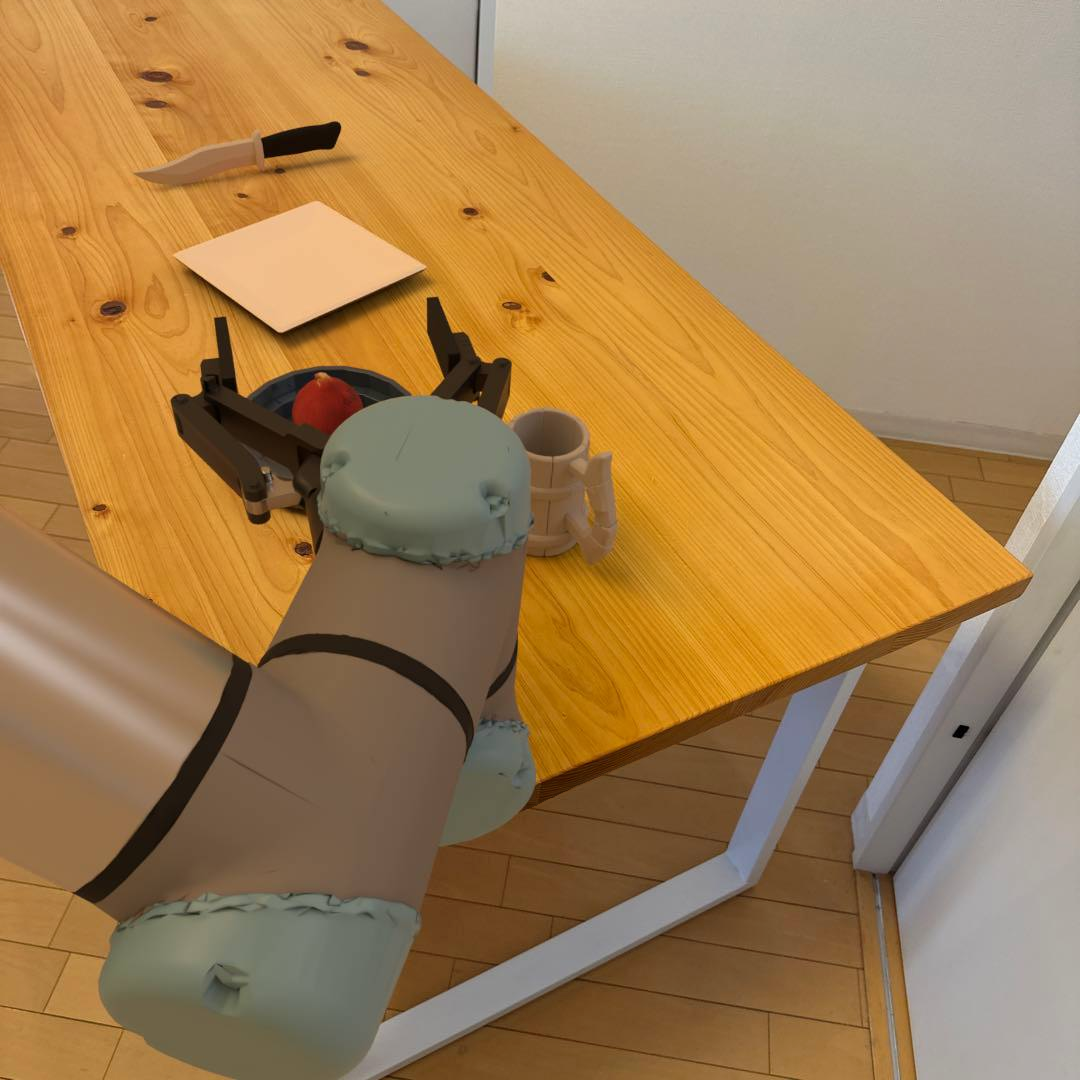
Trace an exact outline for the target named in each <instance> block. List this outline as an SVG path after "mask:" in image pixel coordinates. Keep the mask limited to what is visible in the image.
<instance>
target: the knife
mask: <svg viewBox="0 0 1080 1080" xmlns="http://www.w3.org/2000/svg"><path fill="white" fill-rule="evenodd" d="M341 132H342V124H341V123H340V122H339V121H337V120H334V121H330V122H326V123H322V124H314V125H306V126H300V127H295V128H291V129H286V130H283V131H278V132H276V133H273V134H270V135H266V136H263V137H261V131H260V129H259V128H258V129H254V130H253V131H252V133H251V136H250V137H248V138H243V139H237V140H236V139H235V140H232V141H225V142H221V143H215V144H210V145H209V144H208V145H205V146H201V147H198V148H196V149H194V150H192V151H189V152H188V153H186V154H184V155H182V156H180V157H178V158H176V159H172V160H171V161H168V162H164V163H161V164H158V165H155V166H151V167H147V168H144V169H141V170H137V171H134V172H132V174H133V175H135V176H136V177H138V178H140V179H142V180H144V181H147V182H149V183H153V184H158V185H166V186H182V185H183V186H184V185H189V184H193V183H196V182H199V181H201V180H204V179H206V178H209V177H211V176H214V175H217V174H221V173H224V172H227V171H231V170H236V169H241V168H247V167H251V166H257V168H258V169H259V170H260V171H262V172H264V171H266V168H265V159H272V158H278V157H286V156H293V155H300V154H304V153H308V152H314V151H331V150H334V148H335V147H336V145H337V142H338V139H339V137H340V134H341Z"/></svg>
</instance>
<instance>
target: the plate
mask: <svg viewBox="0 0 1080 1080" xmlns="http://www.w3.org/2000/svg"><path fill="white" fill-rule="evenodd" d="M172 256H173V258H174V259H176V260H177V261H178V262H179V263H181V264H182V265H183V266H185V267H186V268H187V269H189V270H190V271H192V272H193V273H194V274H196V275H197V276H198V277H200V278H202V279H203V280H204V281H205V282H207V283H208V284H210V285H211V286H212V287H214V288H215V289H217V290H218V291H219V292H221V293H222V294H223V295H225V296H226V297H228V298H229V299H230V300H232V301H233V302H235V303H236V304H237V305H239V307H242V308H243V309H245V311H247V312H249V313H250V314H251V315H253V316H254V317H255V318H257V319H258V320H260V321H261V323H264V324H265V325H266V326H268V328H269V327H270V328H271V329H272V330H273V331H275V332H276V333H277V334H279V335H284V334H286V333H289V332H292V331H294V330H296V329H298V328H300V327H302V326H304V325H307V324H309V323H311V322H314V321H317V320H318V319H320V318H322V317H325V316H327V315H329V314H331V313H333V312H336V311H338V310H341V309H342V308H345V307H347V306H350V305H351V304H354V303H356V302H358V301H360V300H363V299H366V298H367V297H369V296H371V295H373V294H376V293H378V292H381V291H383V290H384V289H387V288H389V287H391V286H393V285H396V284H398V283H400V282H402V281H405V280H408V279H409V278H412V277H414V276H416V275H418V274H421V273H423V272H424V271H425V270H426V269H427V265H425V263H422V262H421V261H419V260H418V259H416V258H414V257H413V256H410V255H408V254H407V253H405V252H404V251H402V250H400V249H399V248H397V247H396V246H394V245H392V244H391V243H389V242H388V241H386V240H384V239H383V238H381V237H379V236H378V235H376V234H375V233H372V232H371V231H369V230H368V229H366V228H365V227H362V226H361V225H360V224H358V223H356V222H355V221H353V220H351V219H349V218H348V217H347V216H344V215H343V214H341V213H340V212H338V211H336V210H335V209H334V208H333V209H332V207H329V206H328V205H327V204H324V203H323V202H322V201H319V200H314V201H311V202H308V203H305V204H303V205H300V206H297V207H295V208H293V209H290V210H287V211H284V212H281V213H279V214H276V215H273V216H270V217H268V218H265V219H262V220H260V221H258V222H254V223H252V224H249V225H247V226H244V227H241V228H239V229H236V230H233V231H229V232H228V233H225V234H223V235H220V236H217V237H215V238H211V239H209V240H206V241H204V242H201V243H198V244H195V245H193V246H190V247H187V248H185V249H182V250H180V251H177V252H174V253H173V255H172Z"/></svg>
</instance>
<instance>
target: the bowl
mask: <svg viewBox="0 0 1080 1080" xmlns="http://www.w3.org/2000/svg"><path fill="white" fill-rule="evenodd" d="M320 372H322V373H326V374H327V375H328V376H331V377H334V378H338V379H341V380H343V381H344V382H346V383H347V384H348V385H349V386H351V387H352V388H353V389H354V390H355V391H356V392H357V394H358V395H359V397H360V399H361V401H362V405H363V409H364V408H366V407H368V406H370V405H373V404H376V403H378V402H381V401H385V400H388V399H392V398H397V397H405V396H413V395H412V393H411V392H410V391H409V390H408V389H406V388H405V387H404V386H402V385H401V383H399V382H398V381H396V380H395V379H394V378H391V377H389V376H386V375H383V374H381V373H379V372H376V371H374V370H372V369H365V368H360V367H355V366H349V365H315V366H311V367H307V368H301V369H295V370H292V371H288V372H286V373H284V374H282V375H280V376H277V377H273V378H272V379H269V380H267V381H266V382H264V383H263V384H262V385H260V386H258V387H257V388H256V389H254V390H253V391H252V392H251V393H249V395H248V396H246V398H247V399H249V400H251V401H253V402H255V403H257V404H258V405H260V406H262V407H264V408H266V409H268V410H270V411H272V412H274V413H276V414H277V415H279V416H281V417H283V418H285V419H287V420H289V421H291V422H293V423H294V421H293V418H292V408H293V405H294V402H295V399H296V396H297V394H298V392H299V391H300V390H301V389H302V388H303V387H304V386H305V385H306V384H308V383H309V382H310V381H312V380H314V379H315V374H317V373H320ZM238 442H239V441H238ZM240 443H241V442H240ZM241 444H242V443H241ZM242 445H243V446H244V447H245V448H246V449H247V450H248V451H249V452H250V453H251V454H252V455H253V456H254V457H255V459H256V460H257V462H258V463H259V466H260V468H262V467H265V466H267V467H269V468H270V469H271V473H274V474H275V475H276V476H277V477H278V478H279V479H281V480H284V481H292V479H293V475H292V473H291V472H290V470H289V469H288V468H286V467H284V466H282V465H281V464H279V463H277V462H275V461H273V460H272V459H270V458H268V457H266V456H264V455H262V454H261V453H259V452H257V451H255V450H253V449H252V448H250V447H248V446H246V445H244V444H242ZM288 507H289V508H295V509H300V510H303V509H302V508H300V507H299V506H298V505H297V504H296V505H292V506H288Z"/></svg>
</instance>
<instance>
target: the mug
mask: <svg viewBox="0 0 1080 1080" xmlns="http://www.w3.org/2000/svg"><path fill="white" fill-rule="evenodd" d="M507 425H508V426H509V427H510V428H511V429H512V430H513V431H514V432H515V433H516V434H517V436H518V437H519V438H520V440H521V442H522V444H523V445H524V447H525V450H526V452H527V454H528V458H529V462H530V467H531V488H530V504H531V511H532V513H533V514H534V524H533V527H532V530H529V536H528V544H527V553H526V555H529V556H533V557H544V556H545V557H553V556H557V555H560V554H564V553H565V552H567V551H570V550H571V549H572V548H573V547H574V546H575V545H576V544H577V545H578V546H579V548H580V551H581V553H582V556H583V557H584V559H585V561H586V563H587V564H588V565H589V566H594V565H595V564H597V563H599V562H600V561H601V560H602V559H604V558H606V557H608V556H609V555H610V554H611V552H612V551H613V549H614V542H615V539H616V536H617V532H618V529H619V520H618V519H617V508H616V507H617V506H616V497H615V492H614V484H613V481H614V479H613V478H612V460H613V451H611V450H608V451H604V452H599V453H595V454H594V455H593V456H592V457H590V445H591V435H590V434H591V433H590V430H589V428H588V425H587V424H586V423H585V422H584V421H583V419H581V418H580V417H578V416H576V415H574V414H572V413H570V412H569V411H567V410H565V409H561V408H557V407H553V406H543V407H542V406H539V407H533V408H530V409H529V410H528V411H526V412H521V413H518V414H516V415H514V416H513V417H512V418H511V420H509V421H508V423H507ZM586 494H587V498H588V502H589V503H588V502H587V501H586ZM588 504H589V505H590V507H589V505H588ZM590 508H591V509H592V510H593V515H594V516H593V521H592V527H591V526H590V524H589V523H588V519H589V512H590Z"/></svg>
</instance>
